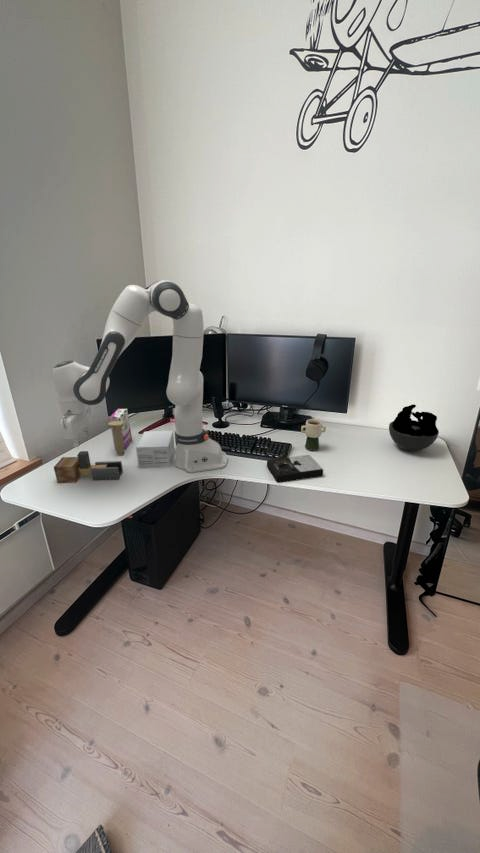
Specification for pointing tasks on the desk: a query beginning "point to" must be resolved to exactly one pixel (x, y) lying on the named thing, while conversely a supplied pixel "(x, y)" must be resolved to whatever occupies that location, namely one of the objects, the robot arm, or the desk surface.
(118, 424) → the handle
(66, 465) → the socket block
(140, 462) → the supplement box
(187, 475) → the desk surface
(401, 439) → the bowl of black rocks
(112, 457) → the desk surface
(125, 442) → the candy bar box
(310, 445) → the character mug
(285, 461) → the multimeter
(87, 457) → the tan bar
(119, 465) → the sleeve channel
